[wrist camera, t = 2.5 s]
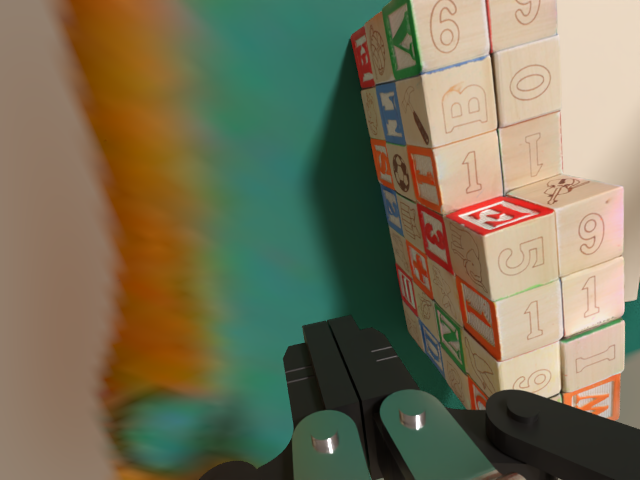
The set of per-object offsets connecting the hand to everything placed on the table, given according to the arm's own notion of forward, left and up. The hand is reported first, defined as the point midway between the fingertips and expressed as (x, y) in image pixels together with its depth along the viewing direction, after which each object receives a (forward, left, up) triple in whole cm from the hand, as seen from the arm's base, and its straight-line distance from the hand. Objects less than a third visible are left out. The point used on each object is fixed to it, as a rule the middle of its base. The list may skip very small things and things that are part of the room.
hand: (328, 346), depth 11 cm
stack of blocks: (-10, 0, -15) cm, 18 cm away
